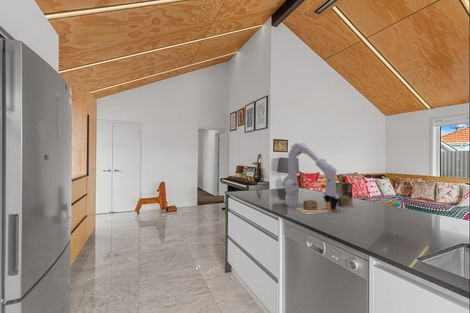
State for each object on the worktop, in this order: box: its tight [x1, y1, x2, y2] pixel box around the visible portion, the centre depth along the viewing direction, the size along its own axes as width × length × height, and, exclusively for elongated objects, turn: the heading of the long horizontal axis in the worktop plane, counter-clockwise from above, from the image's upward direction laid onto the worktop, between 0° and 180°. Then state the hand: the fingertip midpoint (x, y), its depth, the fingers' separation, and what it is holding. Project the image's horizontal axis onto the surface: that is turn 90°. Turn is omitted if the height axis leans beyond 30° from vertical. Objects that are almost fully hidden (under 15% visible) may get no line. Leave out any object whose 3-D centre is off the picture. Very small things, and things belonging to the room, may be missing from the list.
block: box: [325, 201, 338, 211], centre depth 152 cm, size 4×4×5 cm
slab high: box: [303, 199, 318, 206], centre depth 156 cm, size 6×6×2 cm
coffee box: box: [336, 182, 353, 208], centre depth 162 cm, size 9×6×16 cm
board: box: [293, 204, 340, 215], centre depth 155 cm, size 18×22×1 cm
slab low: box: [303, 204, 318, 210], centre depth 156 cm, size 6×6×2 cm
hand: (331, 208), depth 152 cm, fingers closed on block, 4 cm apart
